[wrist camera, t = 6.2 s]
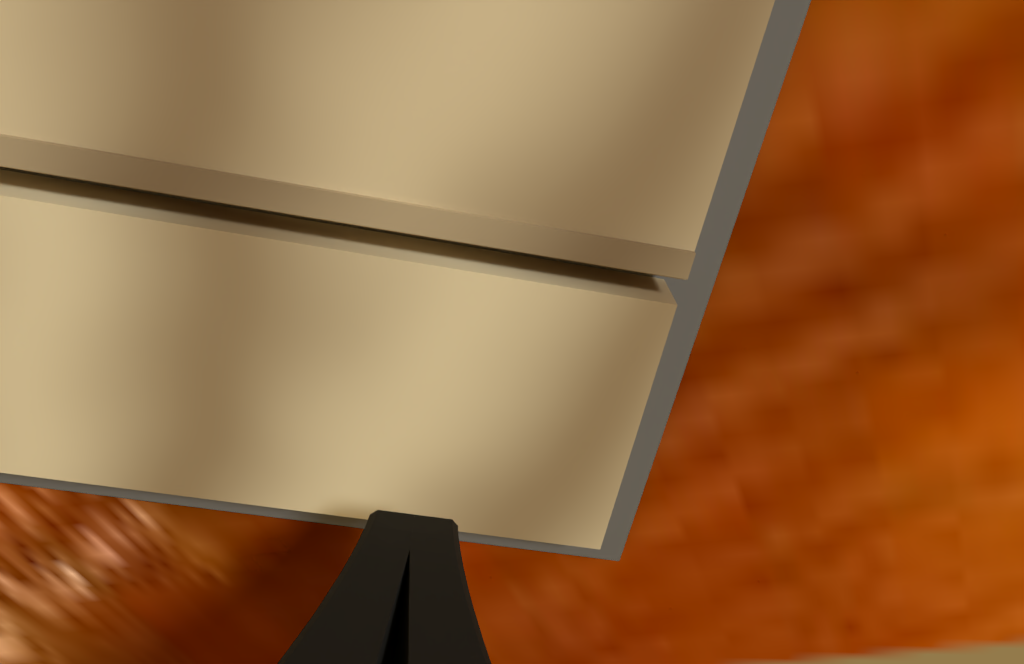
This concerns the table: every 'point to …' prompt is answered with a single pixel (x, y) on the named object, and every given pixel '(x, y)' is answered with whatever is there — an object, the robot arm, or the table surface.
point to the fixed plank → (397, 112)
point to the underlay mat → (686, 293)
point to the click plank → (316, 363)
